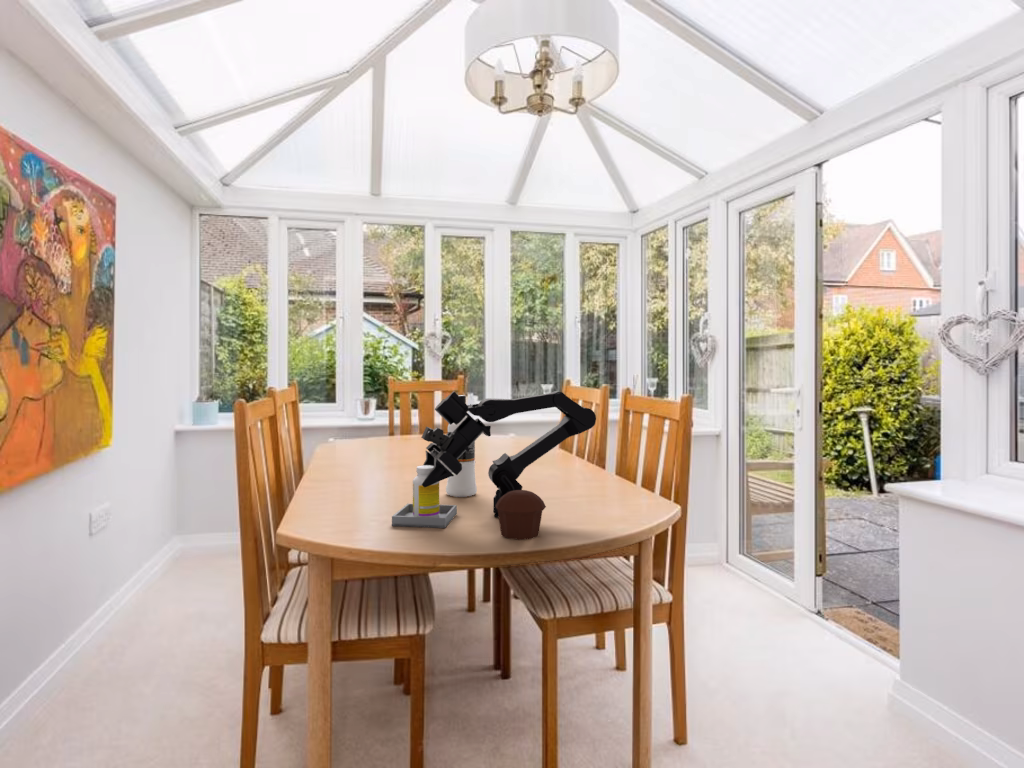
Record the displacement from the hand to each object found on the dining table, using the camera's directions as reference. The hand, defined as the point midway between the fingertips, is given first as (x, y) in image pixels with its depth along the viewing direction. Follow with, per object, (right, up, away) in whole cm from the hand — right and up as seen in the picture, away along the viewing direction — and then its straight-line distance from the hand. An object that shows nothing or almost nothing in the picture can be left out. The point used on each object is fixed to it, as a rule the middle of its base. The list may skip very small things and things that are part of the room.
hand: (420, 482), depth 149 cm
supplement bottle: (+1, -9, +1) cm, 9 cm away
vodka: (+8, -9, +30) cm, 32 cm away
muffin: (+25, -10, -11) cm, 29 cm away
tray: (+1, -10, +1) cm, 10 cm away
